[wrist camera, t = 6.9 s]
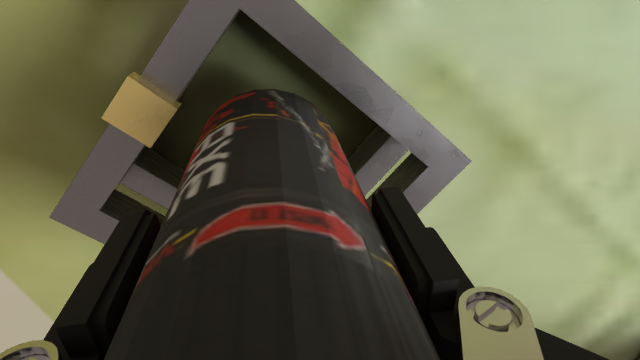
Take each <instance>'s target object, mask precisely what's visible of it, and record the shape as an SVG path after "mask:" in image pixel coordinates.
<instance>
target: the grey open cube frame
mask: <svg viewBox="0 0 640 360" xmlns="http://www.w3.org/2000/svg"><path fill="white" fill-rule="evenodd" d="M241 10H242V11H243V12H244V13H245V14H247V15H248V16H249V17H250V18H251V19H253V20H254V21H255V22H256V23H257V24H259V25H260V26H261V27H262V28H263V29H265V30H266V31H267V32H268V33H269V34H271V35H272V36H273V37H274V38H275V39H277V40H278V41H279V42H280V43H281V44H282V45H284V46H285V47H286V48H287V49H288V50H290V51H291V52H292V53H293V54H294V55H296V56H297V57H298V58H299V59H300V60H302V61H303V62H304V63H305V64H306V65H308V66H309V67H310V68H311V69H312V70H314V71H315V72H316V73H317V74H318V75H320V76H321V77H322V78H323V79H324V80H325V81H327V82H328V83H329V84H330V85H331V86H333V87H334V88H335V89H336V90H337V91H339V92H340V93H341V94H342V95H343V96H345V97H346V98H347V99H348V100H349V101H351V102H352V103H353V104H354V105H355V106H357V107H358V108H359V109H360V110H361V111H362V112H364V113H365V114H366V115H367V116H368V117H370V118H371V119H372V120H373V121H374V122H376V123H377V124H378V125H377V126H376V127H375V128H374V130H373V131H372V132H371V133H370V134H369V135H368V136H367V137H366V138H365V140H364V141H363V142H362V143H361V144H360V145H359V146H358V147H357V148H356V150H355V151H354V152H353V153H352V154H351V155H350V156H349V157H348V158H347V160H348V162H349V164H350V166H351V169H352V171H353V173H354V175H355V177H356V179H357V181H358V184H359V186H360V188H361V190H362V192H363V194H364V196H365V195H366V194H367V193H368V192H369V191H370V190H371V189H372V188H373V187H374V186H375V185H376V184H377V182H378V181H379V180H380V179H381V178H382V177H383V176H384V175H385V174H386V173H387V172H388V171H389V170H390V169H391V168H392V167H393V166H394V165H395V164H396V163H397V162H398V161H399V159H400V158H401V157H402V156H403V155H404V154H405V153H406V152H407V151H408V150H409V151H410V152H411V154H410V155H409V156H408V157H407V158H406V159H405V160H404V161H403V162H402V163H401V164H400V165H399V166H398V167H397V168H396V169H395V170H394V172H393V173H392V174H391V175H390V176H389V177H388V178H387V179H386V180H385V181H384V182H383V183H382V184H381V185H380V186H379V187H378V188H377V189H376V190H375V191H374V192H373V193H372V194H371V195H370V197H369V198H368V199H367V200H366V201H367V203H368V205H369V207H370V209H371V204H372V195H373V194H378V190H379V188H390V187H399V188H400V189H401V191H402V193H403V194H404V196H405V197H406V199H407V200H408V202H409V203H410V205H411V206H412V208H413V209H414V211H415V212H416V214H418V213H419V212H420V211H421V210H422V209H423V208H424V207H425V206H426V205H427V204H428V203H429V202H430V201H431V200H432V199H433V198H434V197H435V196H436V195H437V194H438V193H439V192H440V191H441V190H442V189H443V188H444V187H445V186H446V185H447V184H449V183H450V182H451V181H452V180H453V179H454V178H455V177H456V176H457V175H458V174H459V173H460V172H461V171H462V170H463V169H464V168H465V167H466V166H467V165H468V164H469V163H470V162H471V160H470V159H469V158H468V157H467V156H466V155H465V154H463V153H462V152H461V151H460V150H459V149H458V148H457V147H456V146H455V145H454V144H452V143H451V142H450V141H449V140H448V139H447V138H446V137H445V136H444V135H443V134H441V133H440V132H439V131H438V130H437V129H436V128H435V127H434V126H433V125H431V124H430V123H429V122H428V121H427V120H426V119H425V118H424V117H423V116H422V115H420V114H419V113H418V112H417V111H416V110H415V109H414V108H413V107H412V106H411V105H409V104H408V103H407V102H406V101H405V100H404V99H403V98H402V97H401V96H399V95H398V94H397V93H396V92H395V91H394V90H393V89H392V88H391V87H390V86H388V85H387V84H386V83H385V82H384V81H383V80H382V79H381V78H380V77H379V76H377V75H376V74H375V73H374V72H373V71H372V70H371V69H370V68H369V67H368V66H366V65H365V64H364V63H363V62H362V61H361V60H360V59H359V58H358V57H356V56H355V55H354V54H353V53H352V52H351V51H350V50H349V49H348V48H347V47H345V46H344V45H343V44H342V43H341V42H340V41H339V40H338V39H337V38H336V37H334V36H333V35H332V34H331V33H330V32H329V31H328V30H327V29H326V28H324V27H323V26H322V25H321V24H320V23H319V22H318V21H317V20H316V19H315V18H313V17H312V16H311V15H310V14H309V13H308V12H307V11H306V10H305V9H304V8H302V7H301V6H300V5H299V4H298V3H297V2H296V1H295V0H189V1H188V3H187V4H186V6H185V7H184V9H183V10H182V12H181V13H180V15H179V17H178V18H177V20H176V21H175V23H174V24H173V26H172V27H171V29H170V31H169V32H168V34H167V35H166V37H165V38H164V40H163V41H162V43H161V45H160V46H159V48H158V49H157V51H156V52H155V54H154V55H153V57H152V58H151V60H150V62H149V63H148V65H147V66H146V68H145V69H144V71H143V72H142V74H141V76H140V75H138V74H137V73H135V72H133V73H131V74H130V75H128V76H127V78H126V80H125V81H124V83H123V84H122V86H121V87H120V89H119V91H118V92H117V94H116V95H115V97H114V98H113V100H112V102H111V103H110V105H109V106H108V108H107V110H106V111H105V113H104V114H103V116H102V117H101V118H102V119H103V120H105V121H106V122H108V123H110V124H109V125H108V127H107V128H106V130H105V131H104V133H103V135H102V136H101V138H100V139H99V141H98V142H97V144H96V145H95V147H94V148H93V150H92V152H91V153H90V155H89V156H88V158H87V159H86V161H85V162H84V164H83V166H82V167H81V169H80V170H79V172H78V173H77V175H76V176H75V178H74V179H73V181H72V183H71V184H70V186H69V187H68V189H67V190H66V192H65V193H64V195H63V197H62V198H61V200H60V201H59V203H58V204H57V206H56V207H55V209H54V211H53V212H52V214H51V215H50V217H49V218H51V219H53V220H55V221H58V222H60V223H62V224H64V225H66V226H68V227H70V228H72V229H74V230H76V231H78V232H81V233H83V234H85V235H87V236H89V237H91V238H93V239H95V240H97V241H99V242H101V243H104V244H105V243H106V242H107V240H108V239H109V237H110V235H111V234H112V232H113V230H114V229H115V227H116V226H117V224H118V222H119V221H120V219H121V217H122V216H123V214H124V213H125V212H130V211H141V210H148V211H149V212H150V213H151V215H154V214H156V215H157V217H158V219H159V223H160V227H161V226H162V224H163V221H164V219H165V216H164V215H162V214H160V213H158V212H156V211H154V210H152V209H151V208H149V207H147V206H145V205H143V204H141V203H139V202H138V201H136V200H134V199H132V198H130V197H128V196H127V195H125V194H123V193H121V192H119V191H117V190H115V189H116V188H117V187H118V185H119V184H120V183H121V184H123V185H125V186H127V187H129V188H131V189H132V190H134V191H136V192H138V193H140V194H141V195H143V196H145V197H147V198H149V199H151V200H152V201H154V202H156V203H158V204H160V205H161V206H163V207H165V208H167V209H169V207H170V205H171V203H172V200H173V198H174V196H175V193H176V191H177V189H178V186H179V184H180V182H181V179H182V177H183V175H184V172H185V170H184V169H182V168H180V167H179V166H177V165H175V164H174V163H172V162H170V161H169V160H167V159H166V158H164V157H162V156H161V155H159V154H157V153H156V152H154V151H152V150H151V149H149V148H151V147H152V145H153V144H154V142H155V141H156V139H157V138H158V137H159V135H160V134H161V132H162V131H163V129H164V128H165V127H166V125H167V124H168V122H169V121H170V119H171V118H172V117H173V115H174V114H175V112H176V111H177V110H178V108H179V107H180V105H181V103H180V102H178V100H179V98H180V97H181V95H182V94H183V93H184V91H185V90H186V88H187V87H188V85H189V84H190V82H191V81H192V80H193V78H194V77H195V75H196V74H197V72H198V71H199V70H200V68H201V67H202V65H203V64H204V62H205V61H206V59H207V58H208V57H209V55H210V54H211V52H212V51H213V49H214V48H215V46H216V45H217V44H218V42H219V41H220V39H221V38H222V36H223V35H224V34H225V32H226V31H227V29H228V28H229V26H230V25H231V23H232V22H233V21H234V19H235V18H236V16H237V15H238V13H239V12H240V11H241ZM146 146H148V147H149V148H147V147H146Z"/></svg>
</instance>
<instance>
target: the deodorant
mask: <svg viewBox="0 0 640 360" xmlns="http://www.w3.org/2000/svg"><path fill="white" fill-rule="evenodd" d="M104 360H440V357H439V355H438V353H437V351H436V349H435V347H434V345H433V342H432V340H431V338H430V336H429V334H428V332H427V329H426V327H425V325H424V323H423V321H422V319H421V317H420V314H419V312H418V310H417V308H416V306H415V304H414V302H413V299H412V297H411V295H410V293H409V291H408V289H407V287H406V284H405V282H404V280H403V278H402V276H401V274H400V272H399V269H398V267H397V265H396V263H395V261H394V259H393V257H392V254H391V252H390V250H389V248H388V246H387V244H386V242H385V239H384V237H383V235H382V233H381V231H380V229H379V226H378V224H377V222H376V220H375V218H374V216H373V214H372V211H371V209H370V207H369V205H368V203H367V201H366V199H365V196H364V194H363V192H362V190H361V188H360V186H359V184H358V181H357V179H356V177H355V175H354V173H353V171H352V169H351V166H350V164H349V162H348V160H347V158H346V156H345V154H344V151H343V149H342V147H341V145H340V143H339V141H338V139H337V136H336V134H335V132H334V130H333V128H332V127H331V125H330V123H329V122H328V120H327V119H326V117H325V115H324V114H323V113H322V112H321V111H320V110H318V109H317V108H316V107H315V106H314V105H313V104H312V103H311V102H309V101H307V100H305V99H303V98H301V97H299V96H297V95H295V94H293V93H289V92H284V91H280V90H275V89H270V90H253V91H250V92H247V93H244V94H241V95H237V96H235V97H233V98H232V99H230V100H229V101H227V102H226V103H224V104H222V105H221V106H219V107H218V109H217V110H216V111H215V112H214V113H213V114H212V115H211V117H210V118H209V119H208V120H207V122H206V124H205V126H204V129H203V131H202V133H201V135H200V137H199V140H198V142H197V144H196V147H195V149H194V151H193V154H192V156H191V158H190V161H189V163H188V165H187V168H186V170H185V172H184V175H183V177H182V179H181V182H180V184H179V186H178V189H177V191H176V193H175V196H174V198H173V200H172V203H171V205H170V207H169V210H168V212H167V214H166V217H165V219H164V221H163V224H162V226H161V228H160V231H159V233H158V235H157V238H156V240H155V242H154V245H153V247H152V249H151V252H150V254H149V256H148V258H147V261H146V263H145V265H144V268H143V270H142V272H141V275H140V277H139V279H138V282H137V284H136V286H135V289H134V291H133V293H132V296H131V298H130V300H129V303H128V305H127V307H126V310H125V312H124V314H123V317H122V319H121V321H120V324H119V326H118V328H117V331H116V333H115V335H114V338H113V340H112V342H111V345H110V347H109V349H108V352H107V354H106V356H105V359H104Z"/></svg>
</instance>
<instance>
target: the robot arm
mask: <svg viewBox="0 0 640 360" xmlns="http://www.w3.org/2000/svg"><path fill="white" fill-rule="evenodd" d="M371 211H372V214H373V216H374V218H375V220H376V222H377V224H378V226H379V229H380V231H381V233H382V235H383V237H384V239H385V242H386V244H387V246H388V248H389V250H390V252H391V254H392V257H393V259H394V261H395V263H396V265H397V267H398V269H399V272H400V274H401V276H402V278H403V280H404V282H405V284H406V287H407V289H408V291H409V293H410V295H411V297H412V299H413V302H414V304H415V306H416V308H417V310H418V312H419V314H420V317H421V319H422V321H423V323H424V325H425V327H426V329H427V332H428V334H429V336H430V338H431V340H432V342H433V345H434V347H435V349H436V351H437V353H438V355H439V357H440V360H609V359H607V358H604V357H602V356H600V355H597V354H595V353H593V352H590V351H588V350H586V349H583V348H581V347H579V346H576V345H574V344H572V343H569V342H567V341H565V340H562V339H560V338H558V337H555V336H553V335H551V334H548V333H546V332H544V331H541V330H539V329H537V328H534V325H533V322H532V319H531V316H530V314H529V312H528V310H527V308H526V307H525V306H524V305H523V304H522V303H521V302H520V300H518V299H517V298H515V297H514V296H512V295H511V294H509V293H507V292H504V291H502V290H500V289H495V288H491V287H474V286H473V284H472V283H471V281H470V280H469V278H468V277H467V276H466V274H465V273H464V271H463V270H462V268H461V267H460V265H459V264H458V262H457V261H456V260H455V258H454V257H453V255H452V254H451V252H450V251H449V249H448V248H447V246H446V245H445V244H444V242H443V241H442V239H441V238H440V236H439V235H438V233H437V232H436V231H435V230H434V229H433V228H431V227H428V228H425V226H424V225H423V223H422V222H421V220H420V218H419V217H418V215H417V214H416V212H415V211H414V209H413V208H412V206H411V205H410V203H409V202H408V200H407V199H406V197H405V196H404V194H403V193H402V191H401V189H400V188H399V187H390V188H379V190H378V194H373V195H372V204H371ZM160 228H161V227H160V223H159V219H158V217H157V215H156V214H154V215H151V213H150V212H149V211H148V210H141V211H130V212H125V213H124V214H123V216H122V217H121V219H120V221H119V222H118V224H117V226H116V227H115V229H114V230H113V232H112V234H111V235H110V237H109V239H108V240H107V242H106V243H105V245H104V247H103V248H102V250H101V252H100V253H99V255H98V257H97V258H96V260H95V261H94V263H92V264H91V265H90V266H89V268H88V269H87V271H86V272H85V274H84V275H83V277H82V279H81V280H80V282H79V283H78V285H77V287H76V288H75V290H74V291H73V293H72V295H71V296H70V298H69V300H68V301H67V303H66V304H65V306H64V308H63V309H62V311H61V312H60V314H59V316H58V317H57V319H56V320H55V322H54V324H53V325H52V327H51V328H50V330H49V332H48V333H47V335H46V337H45V338H44V340H39V341H30V342H26V343H22V344H19V345H17V346H15V347H12V348H10V349H7V350H6V351H4V352H2V353H1V354H0V360H104V359H105V356H106V354H107V352H108V349H109V347H110V345H111V342H112V340H113V338H114V335H115V333H116V331H117V328H118V326H119V324H120V321H121V319H122V317H123V314H124V312H125V310H126V307H127V305H128V303H129V300H130V298H131V296H132V293H133V291H134V289H135V286H136V284H137V282H138V279H139V277H140V275H141V272H142V270H143V268H144V265H145V263H146V261H147V258H148V256H149V254H150V252H151V249H152V247H153V245H154V242H155V240H156V238H157V235H158V233H159V231H160ZM638 360H640V358H639V359H638Z"/></svg>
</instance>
